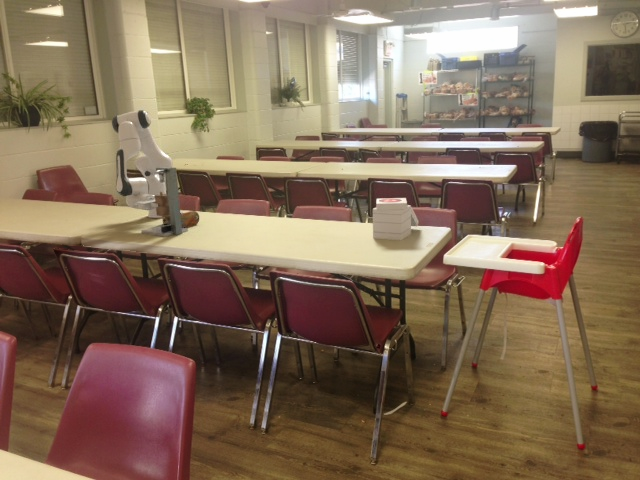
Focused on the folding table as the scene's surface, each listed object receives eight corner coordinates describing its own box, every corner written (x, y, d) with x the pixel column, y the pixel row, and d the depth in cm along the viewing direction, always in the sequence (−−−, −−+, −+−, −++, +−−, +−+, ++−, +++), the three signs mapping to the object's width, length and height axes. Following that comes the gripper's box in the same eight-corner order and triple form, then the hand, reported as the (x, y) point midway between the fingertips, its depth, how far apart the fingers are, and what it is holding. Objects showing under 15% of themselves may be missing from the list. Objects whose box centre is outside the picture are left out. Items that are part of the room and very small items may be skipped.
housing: (164, 213, 319) (161, 190, 316) (169, 214, 316) (167, 191, 313) (156, 215, 316) (154, 192, 312) (162, 216, 313) (160, 192, 310)
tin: (180, 229, 325) (178, 214, 323) (176, 228, 327) (175, 214, 325) (200, 224, 337) (199, 210, 335) (196, 223, 339) (195, 209, 337)
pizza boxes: (422, 228, 303) (422, 194, 299) (403, 241, 278) (403, 204, 273) (387, 226, 312) (387, 193, 308) (366, 238, 286) (366, 203, 282)
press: (164, 227, 331) (158, 164, 322) (190, 231, 317) (184, 166, 309) (131, 235, 313) (123, 169, 305) (157, 240, 300) (150, 171, 292)
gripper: (131, 199, 313) (146, 201, 305) (161, 194, 329) (177, 196, 321) (132, 211, 315) (148, 213, 307) (162, 205, 331) (178, 207, 323)
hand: (163, 204), depth 314 cm, fingers closed on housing, 5 cm apart
